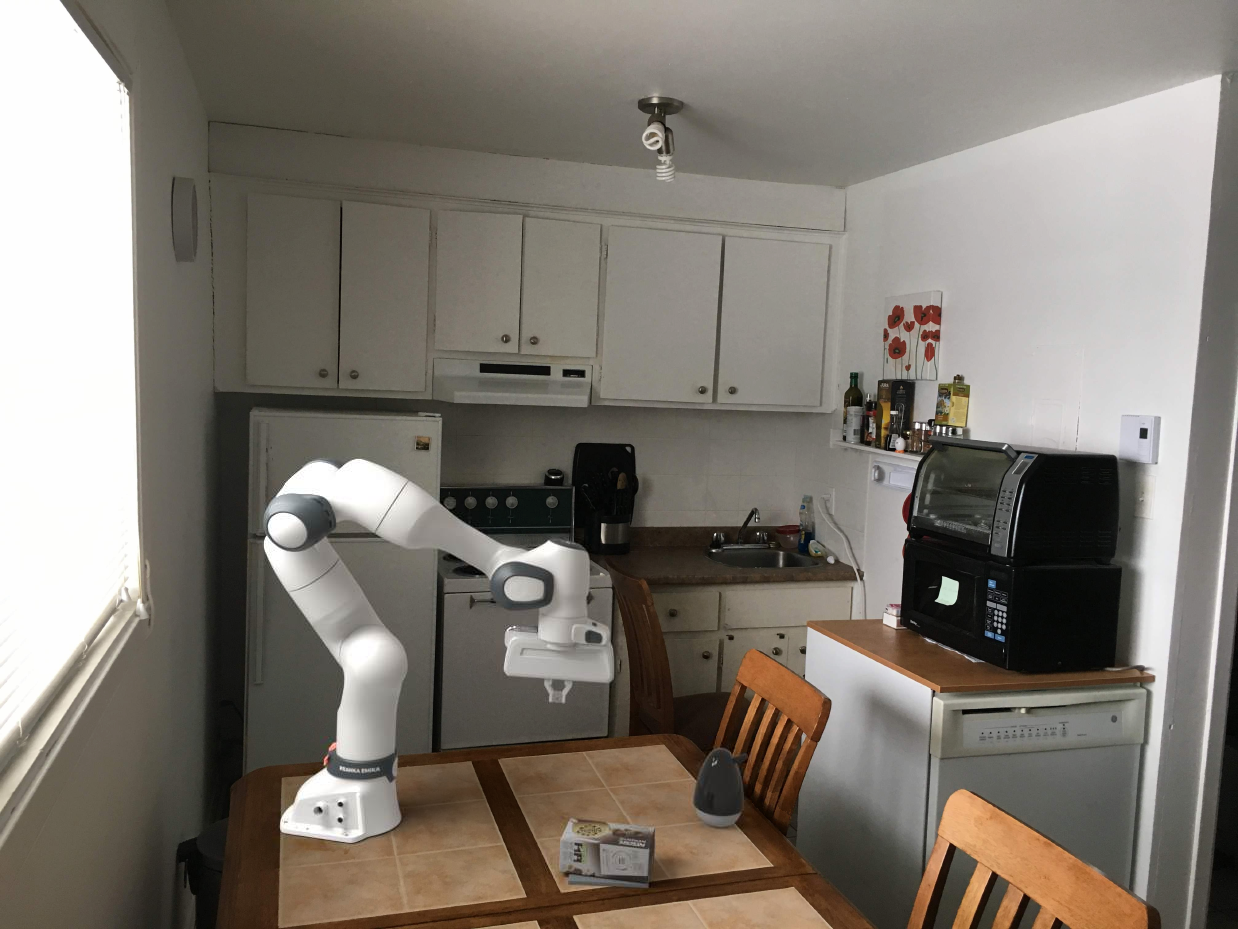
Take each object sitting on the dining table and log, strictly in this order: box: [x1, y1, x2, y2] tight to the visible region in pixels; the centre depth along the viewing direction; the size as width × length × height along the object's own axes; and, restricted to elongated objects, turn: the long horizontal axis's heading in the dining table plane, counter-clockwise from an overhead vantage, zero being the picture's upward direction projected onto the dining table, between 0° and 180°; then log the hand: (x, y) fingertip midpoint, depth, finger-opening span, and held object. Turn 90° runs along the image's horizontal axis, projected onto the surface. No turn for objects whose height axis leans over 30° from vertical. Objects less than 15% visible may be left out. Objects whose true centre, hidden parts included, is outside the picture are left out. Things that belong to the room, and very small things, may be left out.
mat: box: [567, 873, 650, 889], centre depth 174 cm, size 14×14×1 cm
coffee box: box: [558, 818, 656, 884], centre depth 172 cm, size 9×6×16 cm
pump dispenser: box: [692, 747, 749, 828], centre depth 193 cm, size 10×10×15 cm
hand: (557, 702), depth 176 cm, fingers closed
